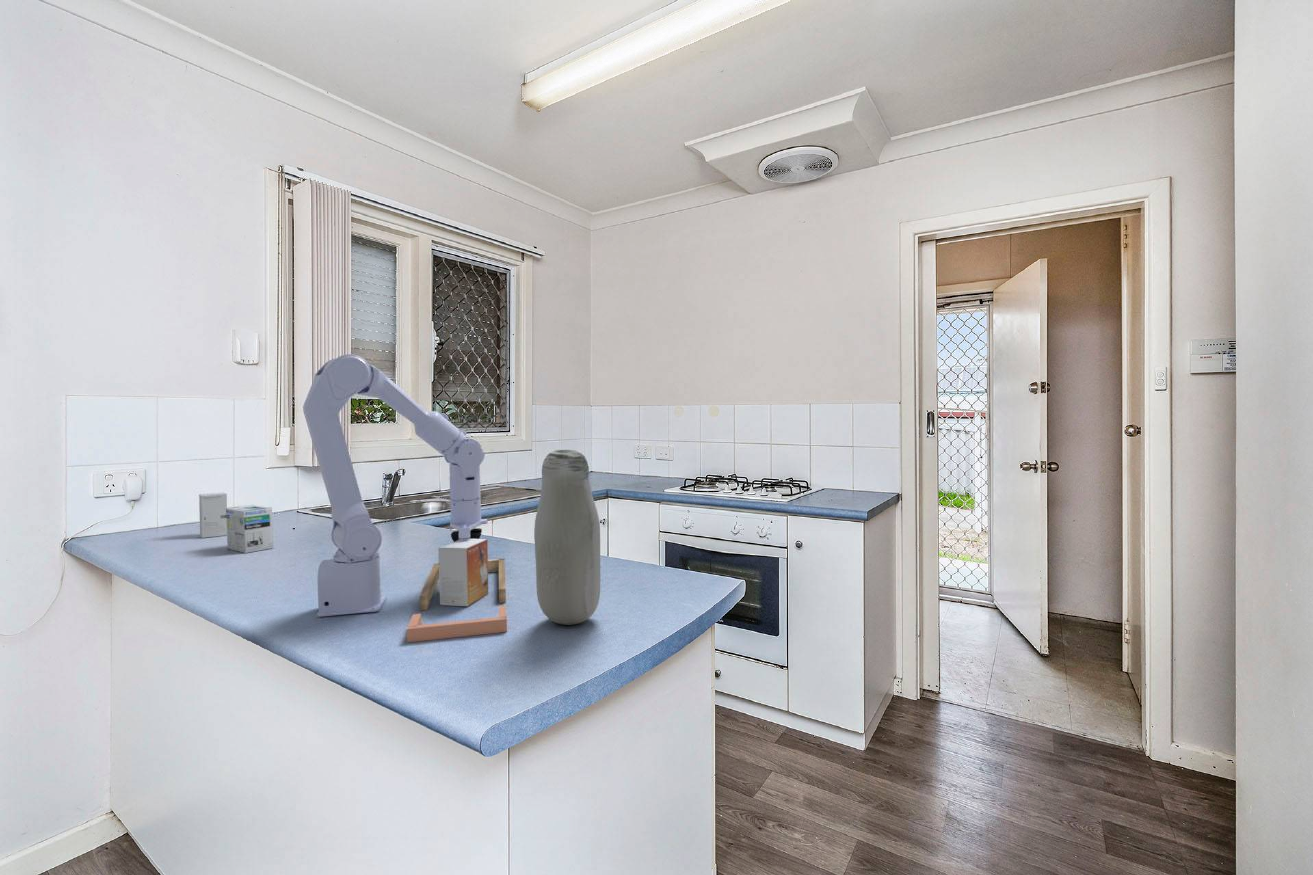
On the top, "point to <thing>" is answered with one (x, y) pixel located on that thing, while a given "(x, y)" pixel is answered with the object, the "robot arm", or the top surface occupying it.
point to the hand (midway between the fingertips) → (467, 567)
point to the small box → (463, 572)
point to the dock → (455, 627)
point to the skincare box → (213, 514)
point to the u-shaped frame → (433, 578)
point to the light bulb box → (249, 528)
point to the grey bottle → (567, 540)
